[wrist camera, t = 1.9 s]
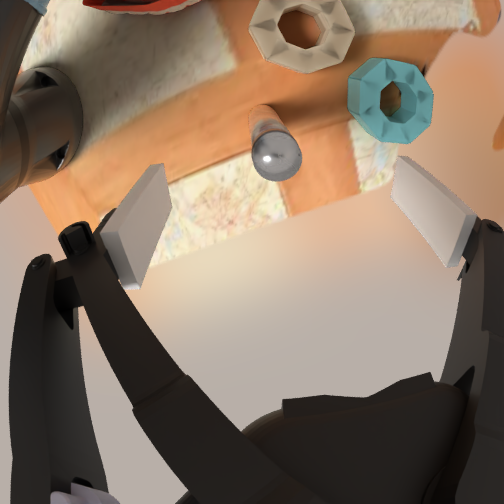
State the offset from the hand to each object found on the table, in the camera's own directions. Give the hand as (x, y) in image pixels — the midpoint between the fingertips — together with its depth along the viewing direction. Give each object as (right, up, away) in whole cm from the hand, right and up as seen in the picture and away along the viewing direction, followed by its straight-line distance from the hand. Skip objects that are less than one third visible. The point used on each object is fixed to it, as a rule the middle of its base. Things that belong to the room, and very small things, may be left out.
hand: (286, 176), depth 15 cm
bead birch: (+3, +18, +7) cm, 20 cm away
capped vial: (-1, +10, +13) cm, 17 cm away
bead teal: (+13, +13, +11) cm, 22 cm away
